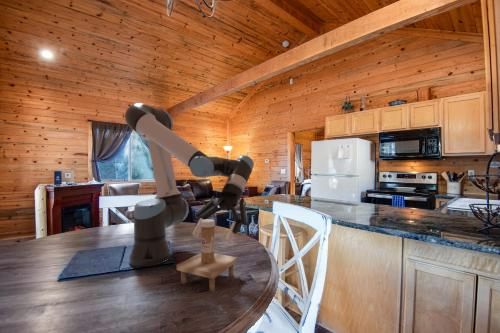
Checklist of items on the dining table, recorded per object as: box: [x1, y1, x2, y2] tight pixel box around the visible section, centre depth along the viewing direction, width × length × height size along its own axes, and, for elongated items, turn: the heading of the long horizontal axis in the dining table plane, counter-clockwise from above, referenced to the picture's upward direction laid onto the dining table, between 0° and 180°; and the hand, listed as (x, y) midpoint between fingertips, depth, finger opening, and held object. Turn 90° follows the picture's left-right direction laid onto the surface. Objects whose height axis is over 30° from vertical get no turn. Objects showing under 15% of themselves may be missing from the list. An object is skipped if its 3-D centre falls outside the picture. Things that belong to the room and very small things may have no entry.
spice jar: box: [200, 218, 216, 263], centre depth 82 cm, size 5×5×14 cm
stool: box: [176, 252, 238, 293], centre depth 82 cm, size 14×14×6 cm
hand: (210, 239), depth 83 cm, fingers open, 13 cm apart
